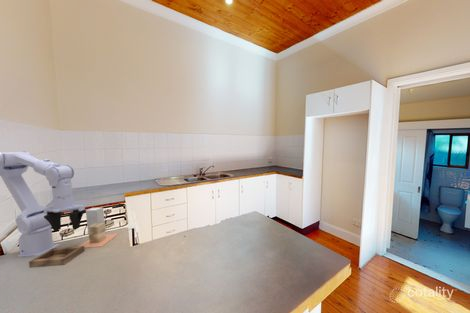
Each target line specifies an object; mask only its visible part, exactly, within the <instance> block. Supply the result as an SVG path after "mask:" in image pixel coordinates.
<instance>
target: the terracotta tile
mask: <svg viewBox="0 0 470 313" xmlns="http://www.w3.org/2000/svg"><path fill="white" fill-rule="evenodd" d="M119 234H120V233H109V234H106V233H105V235H106V238H105V239H104V240H102V241H101V242H99V243H90V240H89V239H88V240H86V241H84V242H82V243H81V244H79V245H78V246H77V247H79V246H84V249H93V248H102V247H104V246H105V245H107V244H108V243H109V242H111V241H112V240H113V239H114V238H116V237H117V236H119Z"/></svg>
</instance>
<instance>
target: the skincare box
mask: <svg viewBox="0 0 470 313" xmlns="http://www.w3.org/2000/svg"><path fill="white" fill-rule="evenodd" d="M85 215H86V225H87V228H88V227H90V226H92V225H93V224H96V223H104V226H105V231H106V223H105V222H106V221H105V213H104V207H91V208H88V209H85ZM87 233H88V235H89V231H88V230H87Z"/></svg>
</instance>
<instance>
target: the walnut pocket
mask: <svg viewBox="0 0 470 313" xmlns="http://www.w3.org/2000/svg"><path fill="white" fill-rule="evenodd" d="M78 246H79V245H78ZM78 246H69V247H54V248H52V249H50V250H49V251H47V252H45V253H43V254H41V255H37V257H35V258H33V259H31V260H30V261H28V264H29V265H28V266H29V268H39V267H52V266H53V267H54V266H65V265H67V264H68V263H69V262H71V261H73V260H74V259H75V258H77V257H78V256H79V255H81V254H82V253H84V252H85V248H84V246H79V247H78Z"/></svg>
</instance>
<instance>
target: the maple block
mask: <svg viewBox="0 0 470 313" xmlns="http://www.w3.org/2000/svg"><path fill="white" fill-rule="evenodd" d="M105 228H106V225H105V226H104V223H96V224H93V225H92V226H90V227H88V226H87V232H88V231H89V234H88V238H89V239H88V240H90V243H99V242H101V241H102V240H104V239H105V238H106V230H105Z"/></svg>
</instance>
